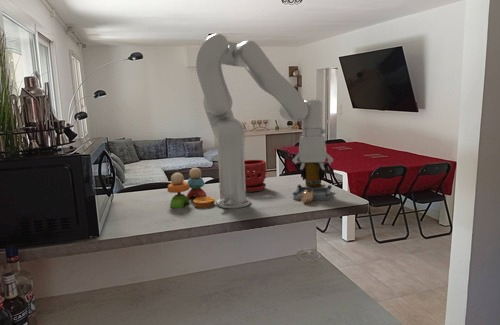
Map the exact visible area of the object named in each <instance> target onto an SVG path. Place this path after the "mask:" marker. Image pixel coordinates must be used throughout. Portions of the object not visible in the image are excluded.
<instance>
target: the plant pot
mask: <svg viewBox="0 0 500 325" xmlns="http://www.w3.org/2000/svg"><path fill="white" fill-rule="evenodd" d="M244 161H245V183H246V193H247V192H250V193H251V192H258V191H262V190H264V189H265V188H266V186H267V185H266V183H264V182H265V180H266V175H267V163H266V160H264V159H244Z"/></svg>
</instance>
